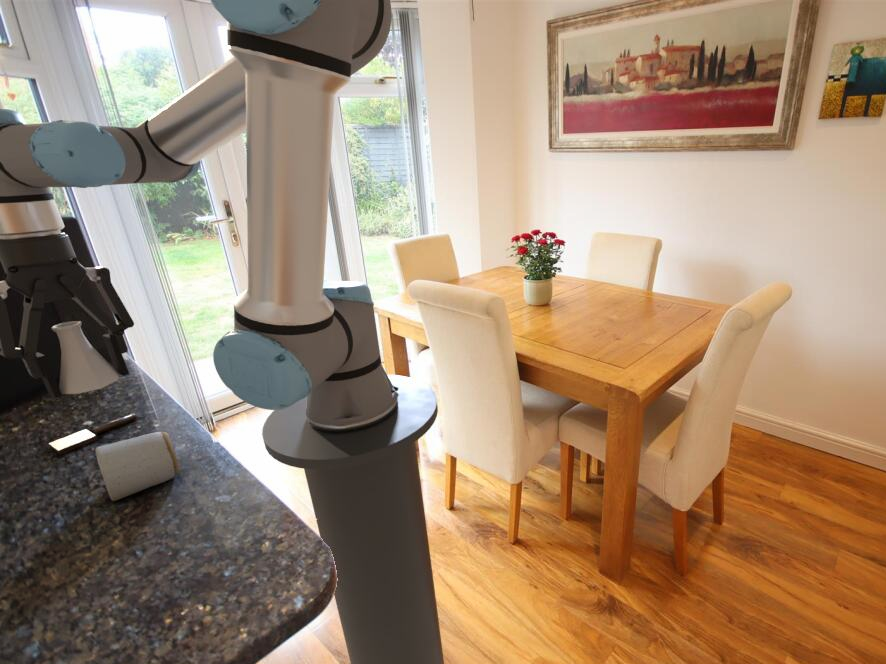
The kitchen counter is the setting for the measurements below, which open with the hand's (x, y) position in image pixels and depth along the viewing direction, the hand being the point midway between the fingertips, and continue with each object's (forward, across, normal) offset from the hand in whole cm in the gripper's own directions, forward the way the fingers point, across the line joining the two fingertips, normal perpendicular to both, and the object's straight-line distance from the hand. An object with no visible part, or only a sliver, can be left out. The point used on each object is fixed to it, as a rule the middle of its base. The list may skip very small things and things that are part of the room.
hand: (90, 383), depth 71 cm
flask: (0, 0, 0) cm, 0 cm away
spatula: (+12, 0, -8) cm, 14 cm away
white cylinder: (+12, +2, +14) cm, 19 cm away
